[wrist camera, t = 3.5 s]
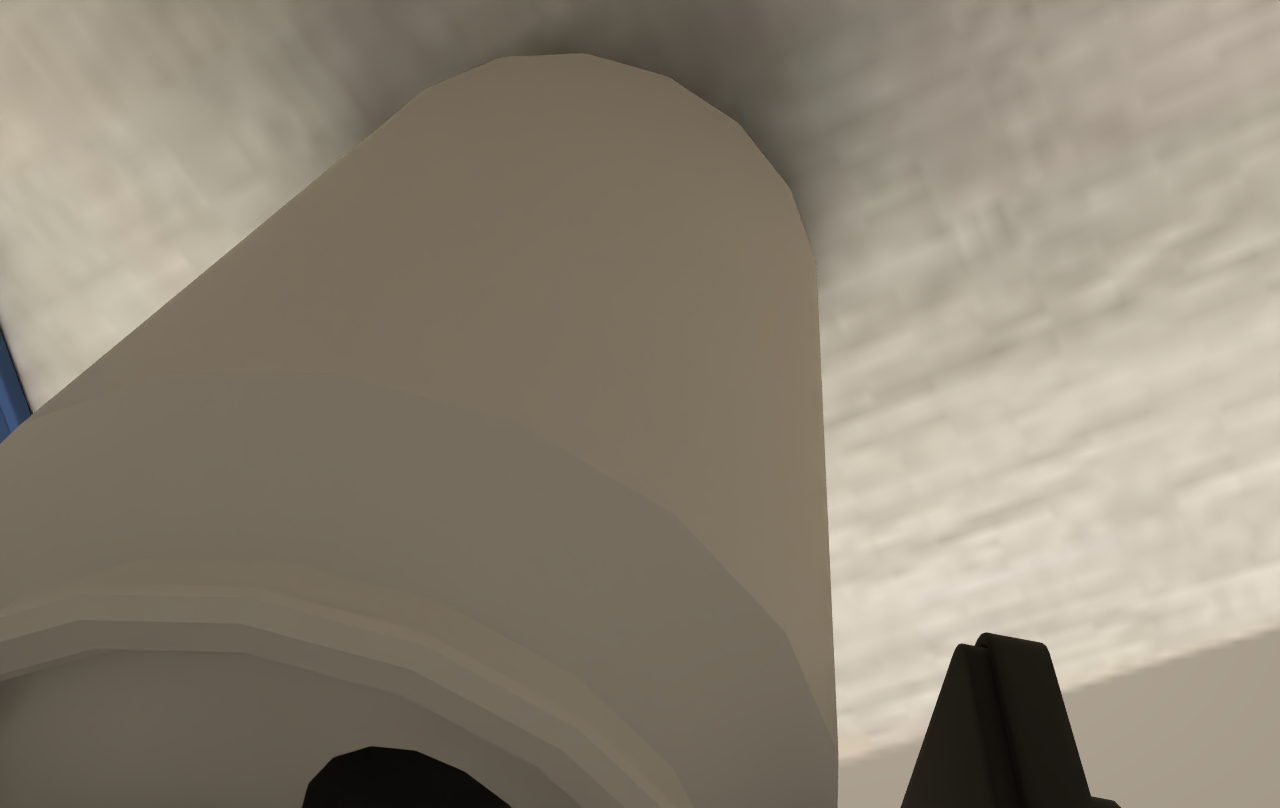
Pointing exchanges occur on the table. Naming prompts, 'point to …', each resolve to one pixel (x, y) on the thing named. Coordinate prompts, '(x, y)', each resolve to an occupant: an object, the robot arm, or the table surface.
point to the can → (448, 486)
